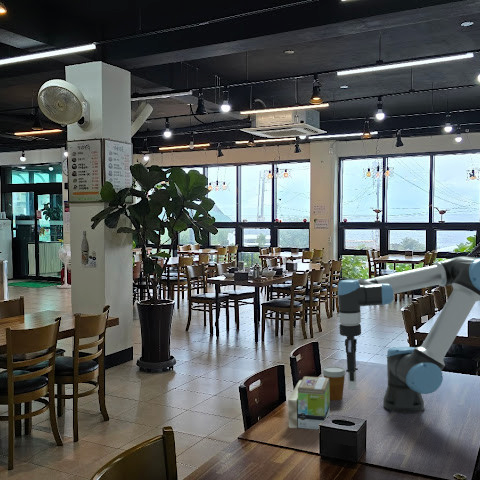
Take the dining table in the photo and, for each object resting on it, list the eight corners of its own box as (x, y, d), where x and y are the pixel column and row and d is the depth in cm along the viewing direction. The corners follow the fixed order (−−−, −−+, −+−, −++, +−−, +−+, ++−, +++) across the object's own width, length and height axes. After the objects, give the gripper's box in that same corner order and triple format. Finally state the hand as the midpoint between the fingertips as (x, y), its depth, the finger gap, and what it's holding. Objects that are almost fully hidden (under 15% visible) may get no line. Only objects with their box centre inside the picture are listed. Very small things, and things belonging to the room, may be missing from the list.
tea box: (325, 430, 192) (325, 388, 191) (297, 428, 195) (296, 387, 194) (330, 415, 206) (329, 376, 206) (303, 413, 209) (302, 375, 208)
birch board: (307, 405, 218) (306, 380, 217) (297, 428, 195) (296, 400, 194) (300, 405, 219) (299, 380, 218) (288, 427, 196) (288, 399, 195)
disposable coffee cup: (320, 400, 223) (319, 371, 223) (325, 393, 232) (325, 365, 232) (343, 403, 220) (343, 373, 219) (348, 395, 228) (347, 367, 228)
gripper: (341, 320, 203) (343, 383, 204) (337, 327, 190) (340, 394, 191) (361, 320, 201) (364, 383, 202) (359, 327, 188) (362, 395, 189)
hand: (352, 389), depth 197 cm, fingers closed
